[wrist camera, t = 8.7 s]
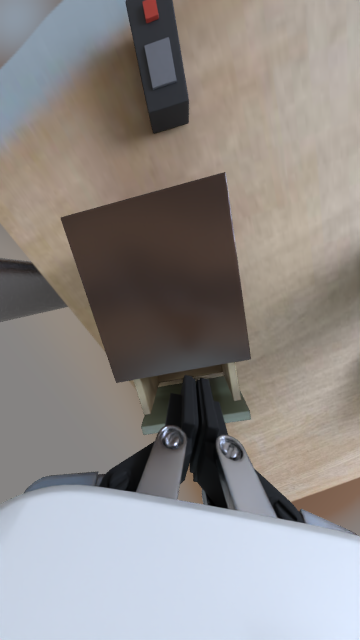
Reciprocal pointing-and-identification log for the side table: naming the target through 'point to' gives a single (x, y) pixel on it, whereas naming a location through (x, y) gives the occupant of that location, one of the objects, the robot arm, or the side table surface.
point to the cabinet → (163, 279)
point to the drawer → (158, 397)
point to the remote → (159, 62)
